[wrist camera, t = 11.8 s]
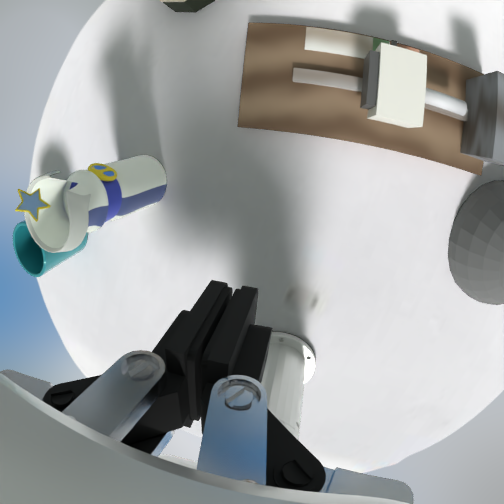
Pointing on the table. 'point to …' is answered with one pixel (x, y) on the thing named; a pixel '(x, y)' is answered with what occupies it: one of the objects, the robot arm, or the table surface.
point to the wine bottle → (186, 5)
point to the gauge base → (349, 96)
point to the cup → (38, 252)
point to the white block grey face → (400, 87)
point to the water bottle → (89, 200)
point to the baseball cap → (480, 245)
